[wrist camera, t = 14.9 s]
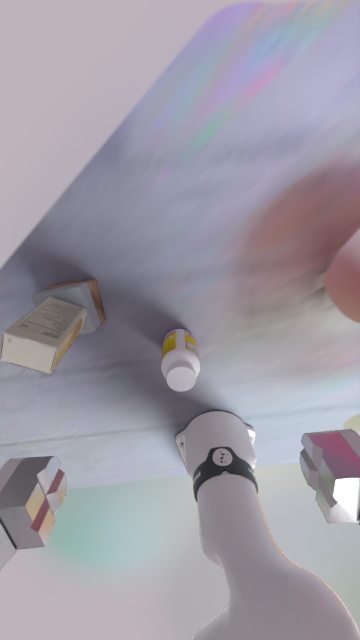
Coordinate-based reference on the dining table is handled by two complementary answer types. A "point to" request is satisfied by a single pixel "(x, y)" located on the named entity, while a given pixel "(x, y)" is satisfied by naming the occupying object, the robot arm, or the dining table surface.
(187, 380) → the supplement bottle
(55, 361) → the skincare box
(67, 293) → the tower top
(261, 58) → the dining table surface
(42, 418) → the dining table surface
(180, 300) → the dining table surface
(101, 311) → the tower base
